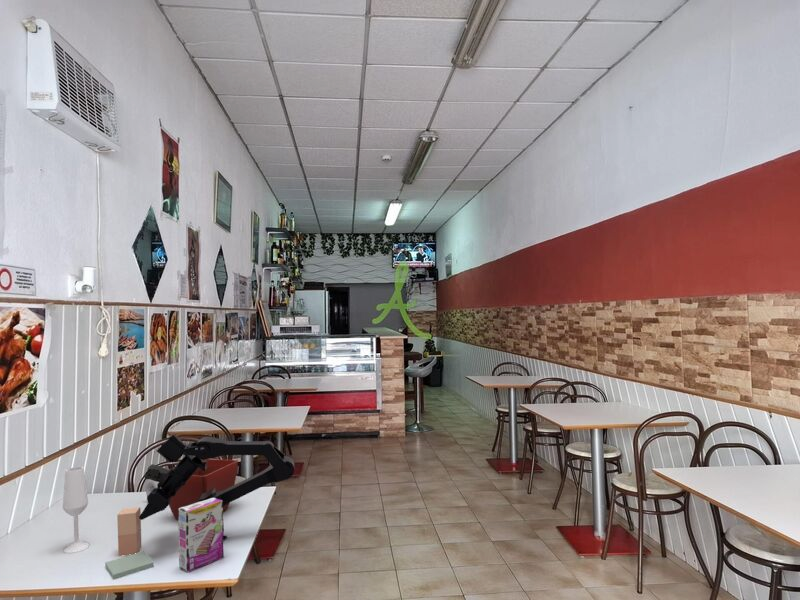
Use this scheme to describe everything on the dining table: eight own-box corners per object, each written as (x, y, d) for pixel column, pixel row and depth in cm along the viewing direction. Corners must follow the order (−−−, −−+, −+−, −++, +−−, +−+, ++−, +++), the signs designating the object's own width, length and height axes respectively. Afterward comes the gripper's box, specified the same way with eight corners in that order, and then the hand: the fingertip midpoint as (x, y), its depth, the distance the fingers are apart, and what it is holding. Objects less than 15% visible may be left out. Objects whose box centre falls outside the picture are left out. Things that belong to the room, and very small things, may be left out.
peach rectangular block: (141, 546, 162) (140, 507, 162) (136, 553, 157) (135, 512, 157) (123, 549, 161) (122, 508, 161) (118, 556, 156) (117, 514, 156)
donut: (167, 504, 199) (166, 477, 199) (158, 507, 196) (157, 479, 197) (153, 499, 205) (152, 473, 205) (144, 502, 202) (143, 476, 203)
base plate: (143, 555, 155) (143, 551, 156) (153, 566, 148) (153, 562, 148) (105, 566, 149) (105, 562, 149) (113, 579, 141) (113, 574, 141)
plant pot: (159, 523, 181) (157, 473, 181) (197, 503, 199) (195, 458, 199) (206, 527, 175) (204, 476, 175) (241, 507, 193) (239, 460, 193)
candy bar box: (188, 573, 143) (186, 511, 143) (178, 568, 146) (176, 508, 147) (225, 557, 152) (223, 499, 152) (215, 553, 155) (213, 496, 155)
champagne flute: (66, 545, 165) (64, 467, 166) (91, 541, 167) (89, 464, 168) (61, 554, 159) (59, 473, 159) (87, 550, 161) (84, 470, 162)
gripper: (168, 448, 171) (132, 486, 168) (154, 463, 152) (113, 506, 150) (195, 470, 172) (159, 509, 169) (184, 488, 154) (144, 531, 151)
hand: (144, 513), depth 160 cm, fingers open, 9 cm apart
